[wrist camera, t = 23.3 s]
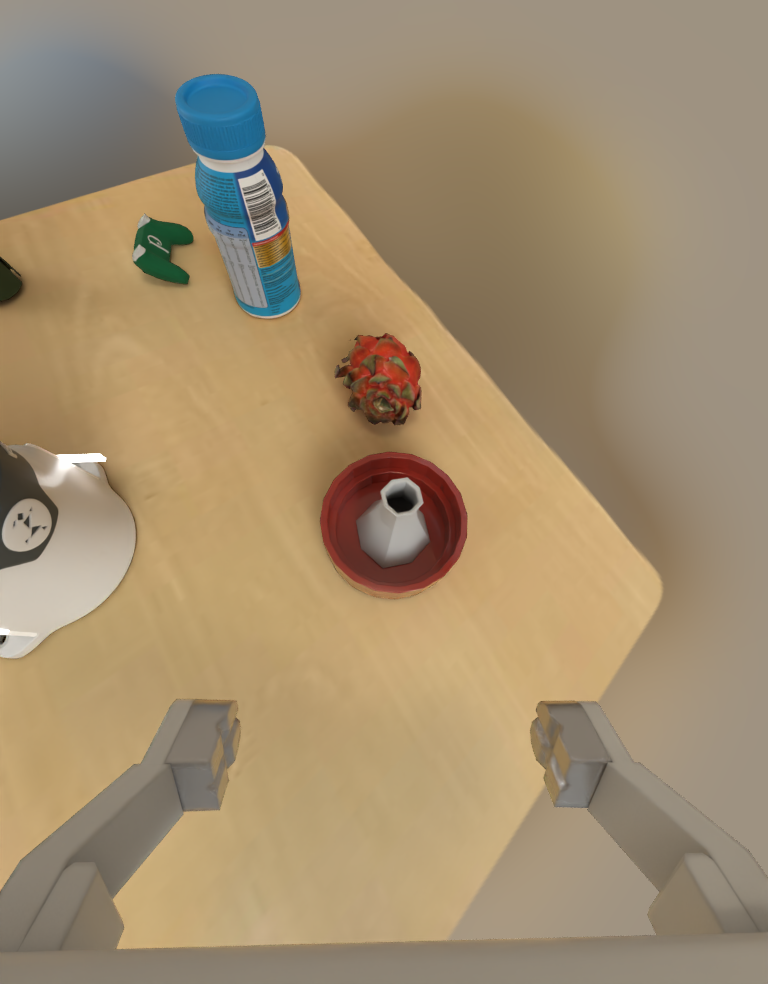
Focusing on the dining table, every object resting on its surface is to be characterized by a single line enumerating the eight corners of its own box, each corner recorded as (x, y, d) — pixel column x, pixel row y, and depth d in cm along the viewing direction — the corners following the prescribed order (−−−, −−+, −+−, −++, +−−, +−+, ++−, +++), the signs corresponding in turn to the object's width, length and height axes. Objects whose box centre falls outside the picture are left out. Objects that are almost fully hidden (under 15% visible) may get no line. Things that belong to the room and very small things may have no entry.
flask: (379, 581, 37) (384, 560, 28) (343, 518, 40) (338, 479, 30) (442, 545, 39) (467, 514, 30) (404, 486, 41) (417, 440, 32)
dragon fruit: (392, 454, 45) (359, 382, 50) (453, 409, 42) (411, 337, 47) (345, 428, 38) (313, 347, 44) (414, 371, 35) (370, 292, 40)
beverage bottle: (231, 320, 49) (151, 120, 30) (240, 271, 52) (173, 62, 33) (299, 323, 49) (262, 128, 31) (305, 274, 52) (273, 70, 34)
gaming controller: (184, 250, 55) (136, 220, 51) (195, 230, 53) (146, 198, 49) (178, 299, 52) (127, 272, 48) (191, 280, 50) (137, 250, 45)
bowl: (315, 591, 37) (309, 583, 33) (335, 466, 42) (332, 444, 38) (452, 606, 38) (465, 600, 33) (457, 480, 42) (468, 460, 38)
